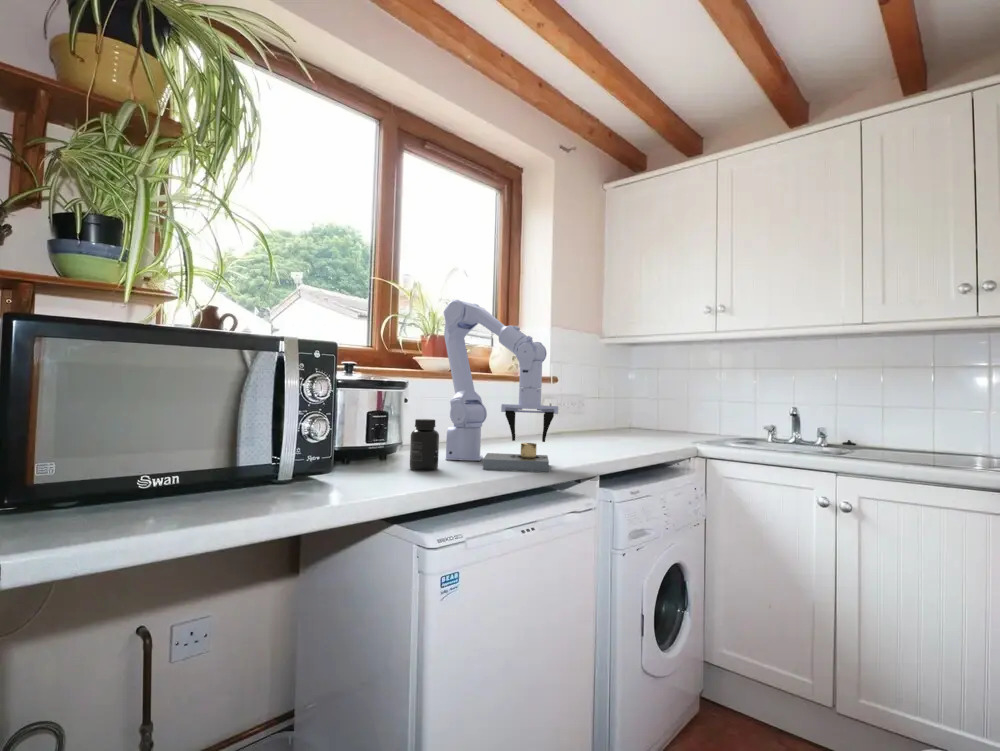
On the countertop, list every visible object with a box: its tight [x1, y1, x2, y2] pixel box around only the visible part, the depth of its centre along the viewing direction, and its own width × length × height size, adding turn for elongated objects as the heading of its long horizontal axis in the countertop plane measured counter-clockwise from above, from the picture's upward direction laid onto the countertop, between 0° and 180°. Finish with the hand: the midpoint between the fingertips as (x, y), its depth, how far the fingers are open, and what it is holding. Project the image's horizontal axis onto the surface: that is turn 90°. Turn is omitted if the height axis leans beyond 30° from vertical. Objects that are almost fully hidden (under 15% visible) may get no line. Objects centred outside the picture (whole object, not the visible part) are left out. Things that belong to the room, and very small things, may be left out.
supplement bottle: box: [409, 418, 440, 472], centre depth 126 cm, size 7×7×12 cm
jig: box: [482, 452, 550, 473], centre depth 134 cm, size 16×12×2 cm
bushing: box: [520, 442, 538, 459], centre depth 134 cm, size 4×4×6 cm
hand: (528, 441), depth 134 cm, fingers open, 7 cm apart
